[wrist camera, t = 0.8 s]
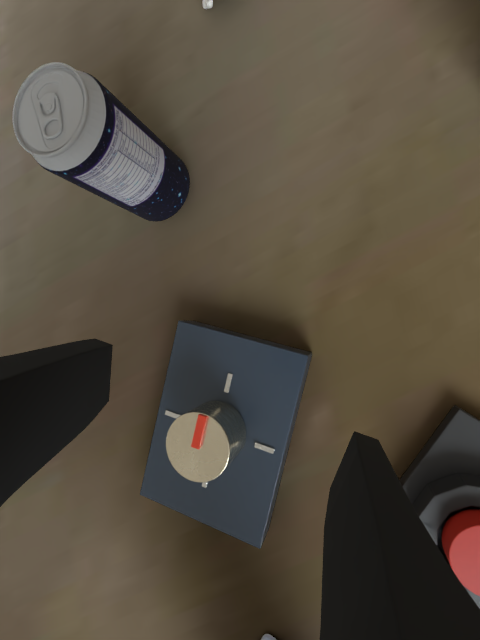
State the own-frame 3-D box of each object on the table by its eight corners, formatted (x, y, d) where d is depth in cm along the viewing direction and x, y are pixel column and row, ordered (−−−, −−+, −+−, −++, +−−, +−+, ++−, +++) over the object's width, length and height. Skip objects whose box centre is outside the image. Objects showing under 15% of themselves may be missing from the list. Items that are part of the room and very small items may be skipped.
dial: (238, 470, 25) (218, 496, 21) (184, 448, 26) (156, 469, 23) (252, 411, 25) (235, 426, 21) (197, 392, 26) (171, 404, 22)
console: (268, 529, 27) (259, 551, 24) (156, 481, 30) (138, 495, 27) (312, 352, 26) (308, 355, 24) (192, 320, 29) (177, 320, 26)
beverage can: (188, 147, 29) (83, 35, 18) (199, 213, 29) (100, 142, 17) (130, 168, 31) (0, 78, 19) (140, 231, 31) (13, 177, 19)
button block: (478, 637, 23) (496, 683, 20) (353, 541, 25) (353, 569, 22) (601, 493, 21) (640, 520, 18) (454, 404, 23) (468, 415, 20)
